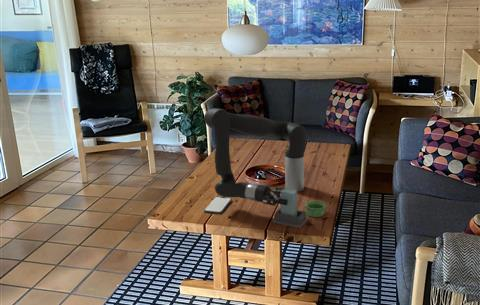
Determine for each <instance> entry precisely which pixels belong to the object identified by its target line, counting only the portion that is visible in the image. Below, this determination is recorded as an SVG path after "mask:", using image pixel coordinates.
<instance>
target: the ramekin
mask: <svg viewBox="0 0 480 305" xmlns="http://www.w3.org/2000/svg"><path fill="white" fill-rule="evenodd" d="M326 207H327V204H326V203H325V202H324V201H320V200H309V201H306V203H305V209H306V210H305V212H306V216H308V217H313V218H321V217H323V216H324V215H325V212H326Z"/></svg>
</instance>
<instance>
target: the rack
mask: <svg viewBox="0 0 480 305" xmlns="http://www.w3.org/2000/svg"><path fill="white" fill-rule="evenodd" d="M273 216H274V218H273V219H271V223H274V224H279V225H284V226H288V227H293V228H297V229H301V228H302V227H303V226H304V225H305V224H306V223H307V222H308V220H309V217H307V213H306V211H303V210H298V209H297V217H296V216H291V215H286V214H281V207H280V208H279V209H278V210H277V211H275V212H274V214H273Z"/></svg>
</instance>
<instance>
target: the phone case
mask: <svg viewBox="0 0 480 305" xmlns="http://www.w3.org/2000/svg"><path fill="white" fill-rule="evenodd" d="M231 203H232V197H222V196H215V197H214V198H213V199H212V200H211V202H210V203H209V204H208V205H207V206H206V207H205V209H204V210H203V212H204V213H208V214H216V215H222V213H224V211H225V210H226V209H227V208H228V207H229V205H230V204H231Z"/></svg>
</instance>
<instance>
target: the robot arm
mask: <svg viewBox="0 0 480 305" xmlns="http://www.w3.org/2000/svg"><path fill="white" fill-rule="evenodd" d="M203 117H204V118H203V119H204V122H205V125H206V126H207V127H209V128H211V129H213V130H214V132H215V137H216V143H215V144H216V146H215V150H214V165H215V172H216V174H217V175H218V176H220V177H221V180H219V181H218V182H217V183H216V184H215V186H214V191H215V193H216V194H217V195H218V196H219V197H224V198H241V199H245V200H250V201H253V202H258V203H262V204H264V205H267V206H269V205H270V206H273V207H276V205H281V204H282V205H287V204H288V200H285V199H281V191H282V190H283V189H290V190H295V191H297V192H302V191H303V190H304V189H305V188H304V186H305V151H306V149H307V131H306V128H305V127H304V126H302V125H300V124H297V123H294V122H290V121H289V122H286V121H285V122H284V121H276V120H273V119H271V118H268V117H262V116H259V115H252V114H237V113H232V112H228V111H227V110H225V109H223V108H216V107H215V108H211V109H208V110H207V111H206V112H205V114H204V116H203ZM230 130H231V131H235V132H238V133H241V134H245V135H249V136H253V137H260V138H263V137H264V138H265V137H266V138H267V137H276V138H280V139H284V140H285V141H287V142H289V144H288V145H289V146H288V148H287V149H285V150H284V151H285V152H284V166H285V167H284V170H285V171H284V173H285V174H284V176H285V177H284V179H285V180H284V184H285V185H284V186H285V187H284V188H283V187H277V186H276V187H275V189H271V188H270V186H269V185H265V184H257V183H249V182H241V181H239V182H236V178H235V175H234V172H233V171H232V164H231V155H230V153H231V152H230V132H231V131H230Z"/></svg>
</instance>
